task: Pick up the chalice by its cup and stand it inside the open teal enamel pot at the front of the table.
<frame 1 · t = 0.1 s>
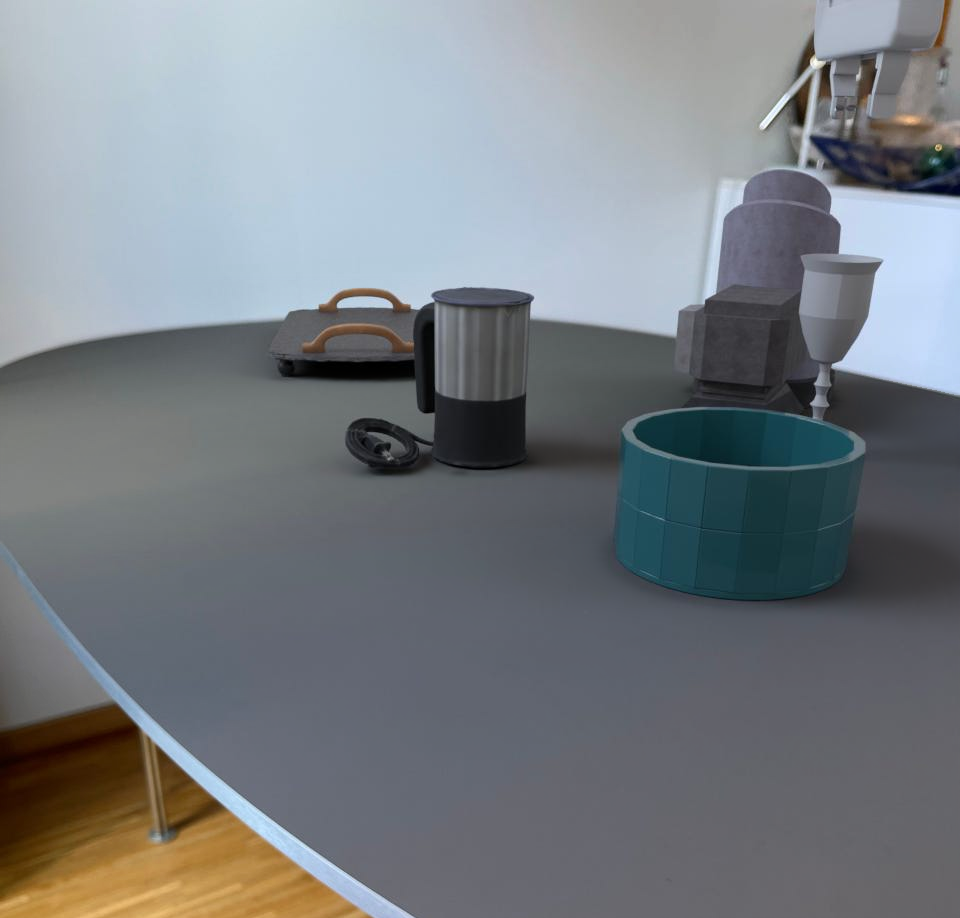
hand: (859, 119, 89), 29 cm above the table, tool pointing down, fingers open, 8 cm apart
serving tray: (363, 352, 147), on the table
pot: (727, 555, 79), on the table
chalice: (811, 456, 103), on the table
juicer: (751, 404, 122), on the table
milk frother: (439, 461, 100), on the table
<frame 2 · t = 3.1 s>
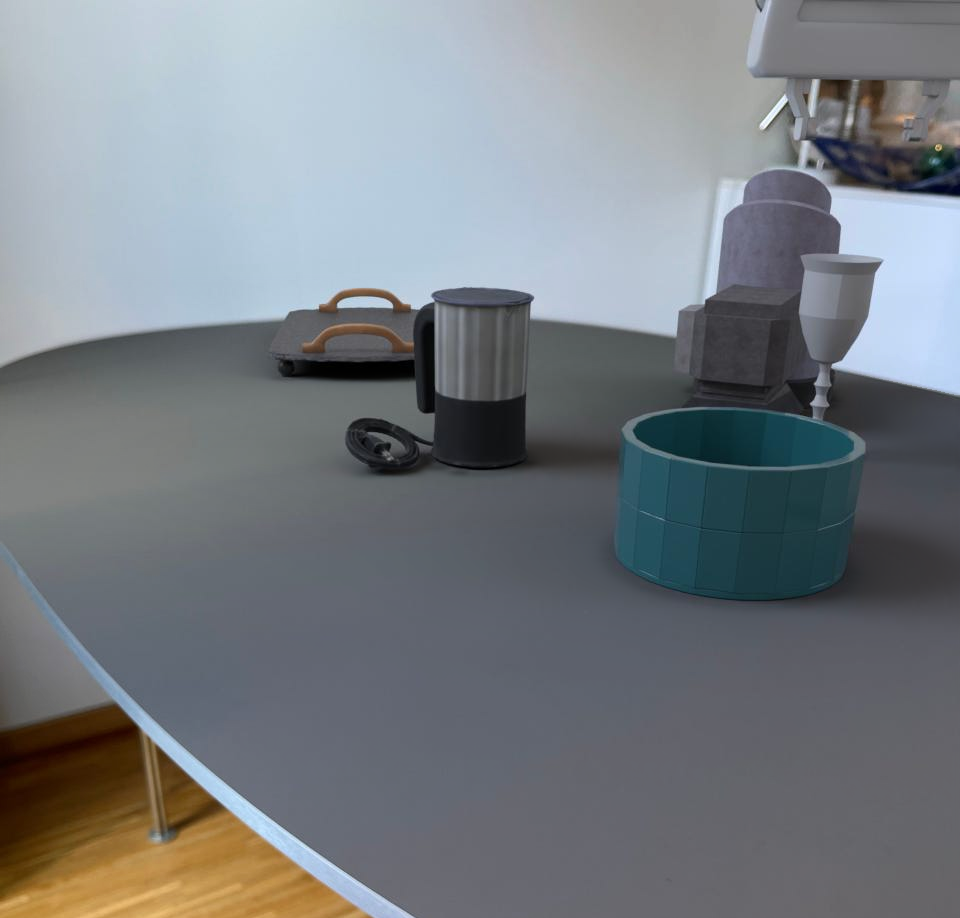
hand: (859, 141, 91), 27 cm above the table, tool pointing down, fingers open, 8 cm apart
nothing on the table moved.
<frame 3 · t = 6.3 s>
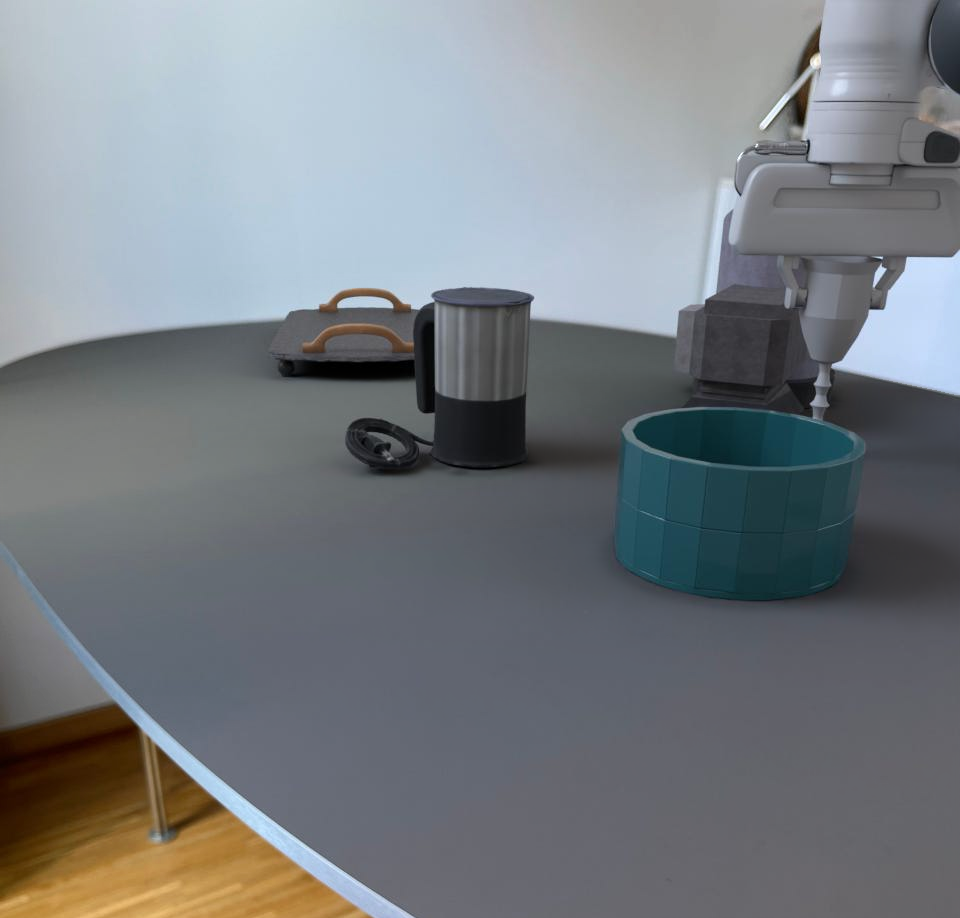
hand: (834, 308, 97), 14 cm above the table, tool pointing down, fingers closed on chalice, 6 cm apart
chalice: (811, 456, 103), on the table, touching gripper
everything else where it was.
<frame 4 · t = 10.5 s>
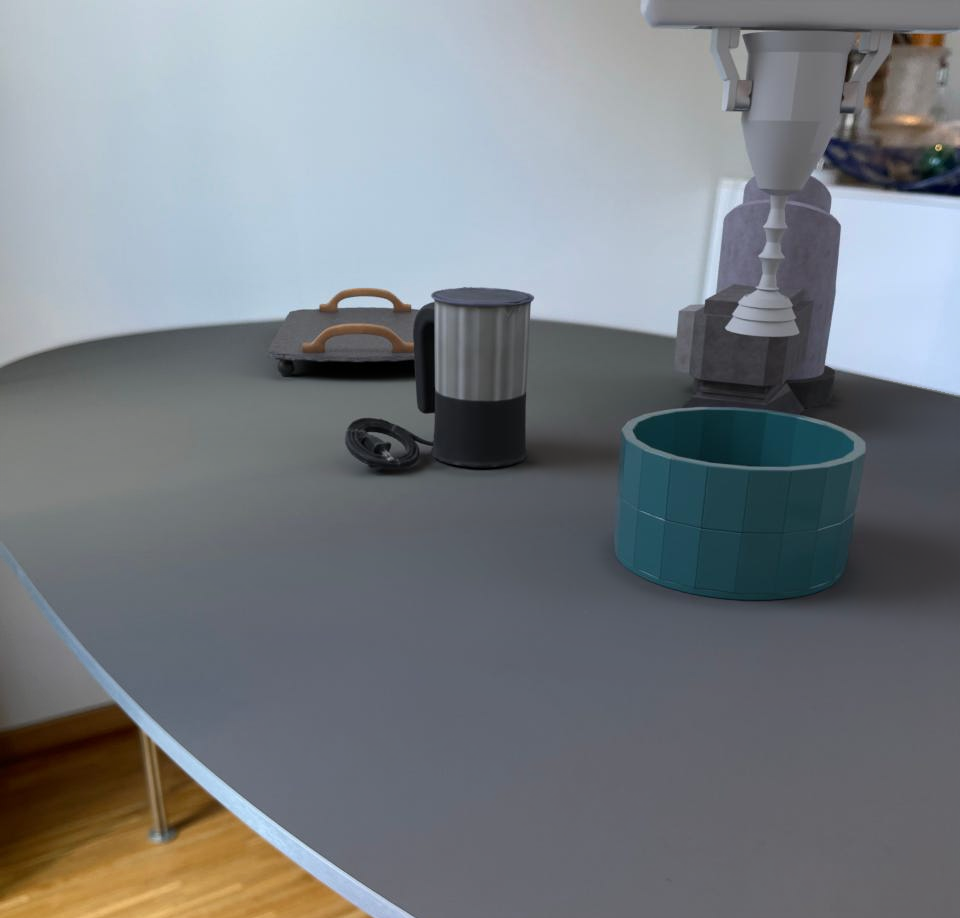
hand: (791, 112, 69), 29 cm above the table, tool pointing down, fingers closed on chalice, 6 cm apart
chalice: (761, 332, 75), point 16 cm above the table, touching gripper
everything else where it was.
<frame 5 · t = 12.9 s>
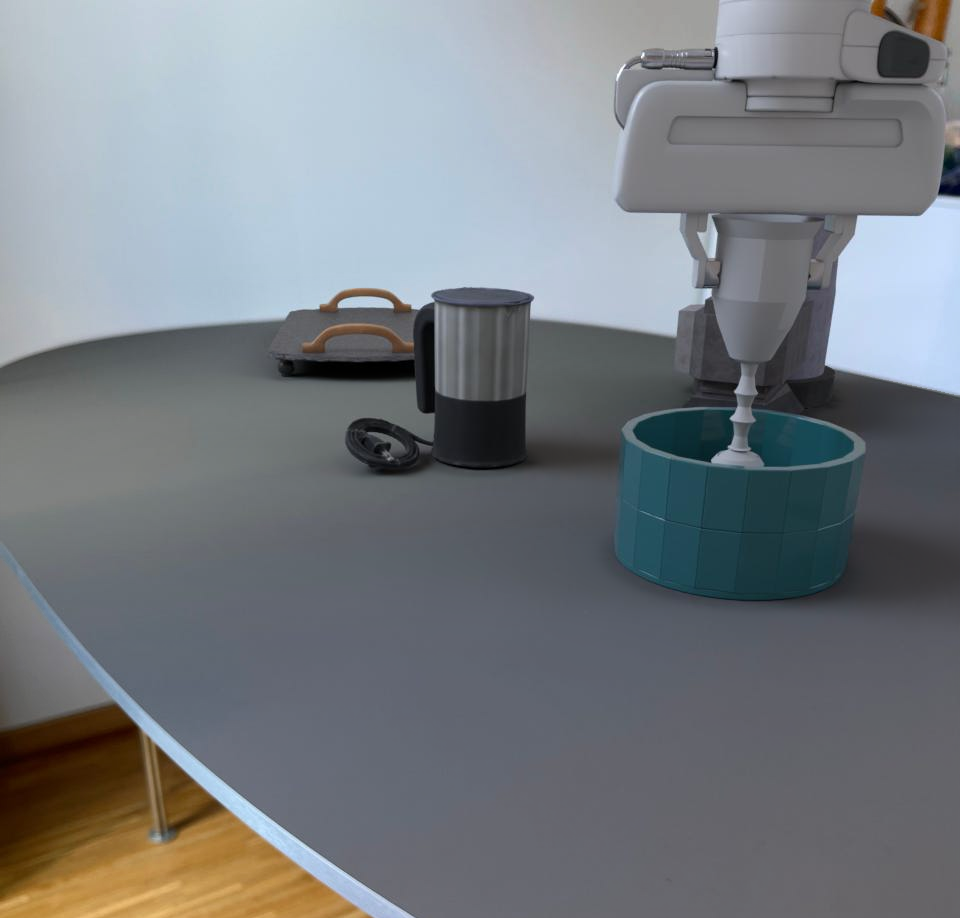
hand: (759, 288, 71), 19 cm above the table, tool pointing down, fingers closed on chalice, 6 cm apart
chalice: (734, 488, 77), point 5 cm above the table, touching gripper
everything else where it was.
when the fingers open (14 cm above the table, at t = 14.7 s): chalice stays where it is, resting on pot.
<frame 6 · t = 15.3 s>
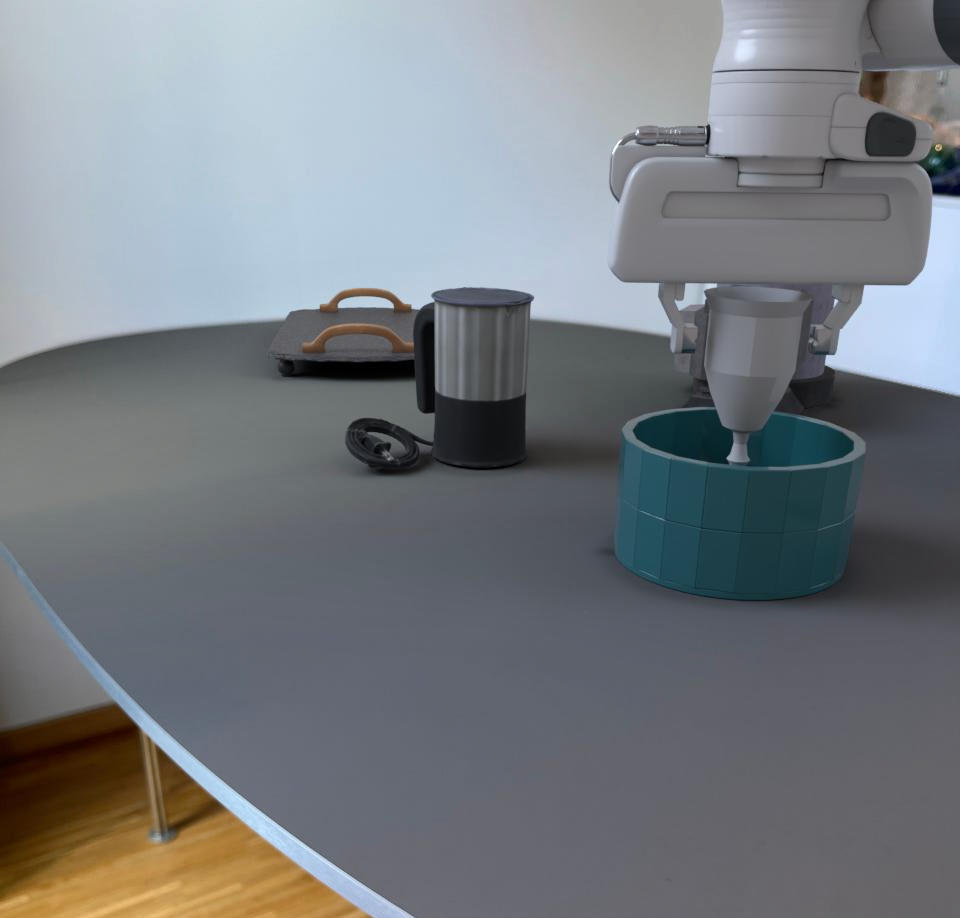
hand: (752, 353, 72), 15 cm above the table, tool pointing down, fingers open, 8 cm apart
chalice: (727, 550, 79), resting on pot
everything else where it was.
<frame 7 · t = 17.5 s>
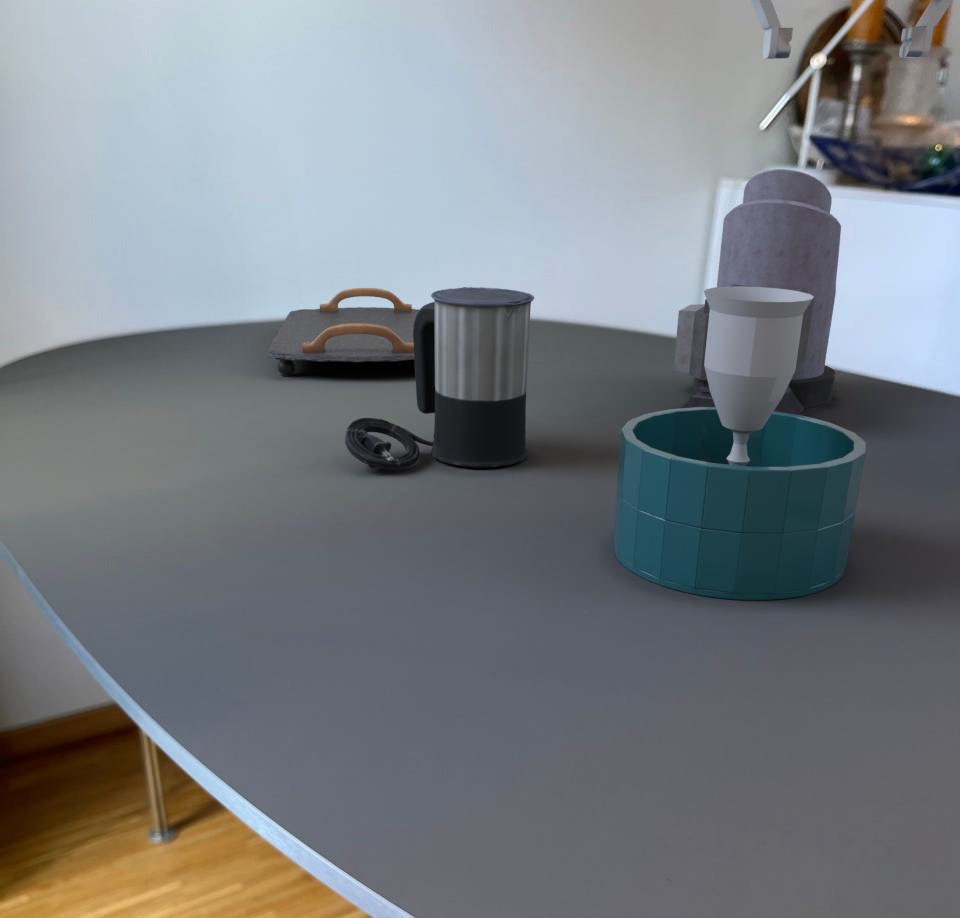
hand: (844, 58, 73), 33 cm above the table, tool pointing down, fingers open, 8 cm apart
nothing on the table moved.
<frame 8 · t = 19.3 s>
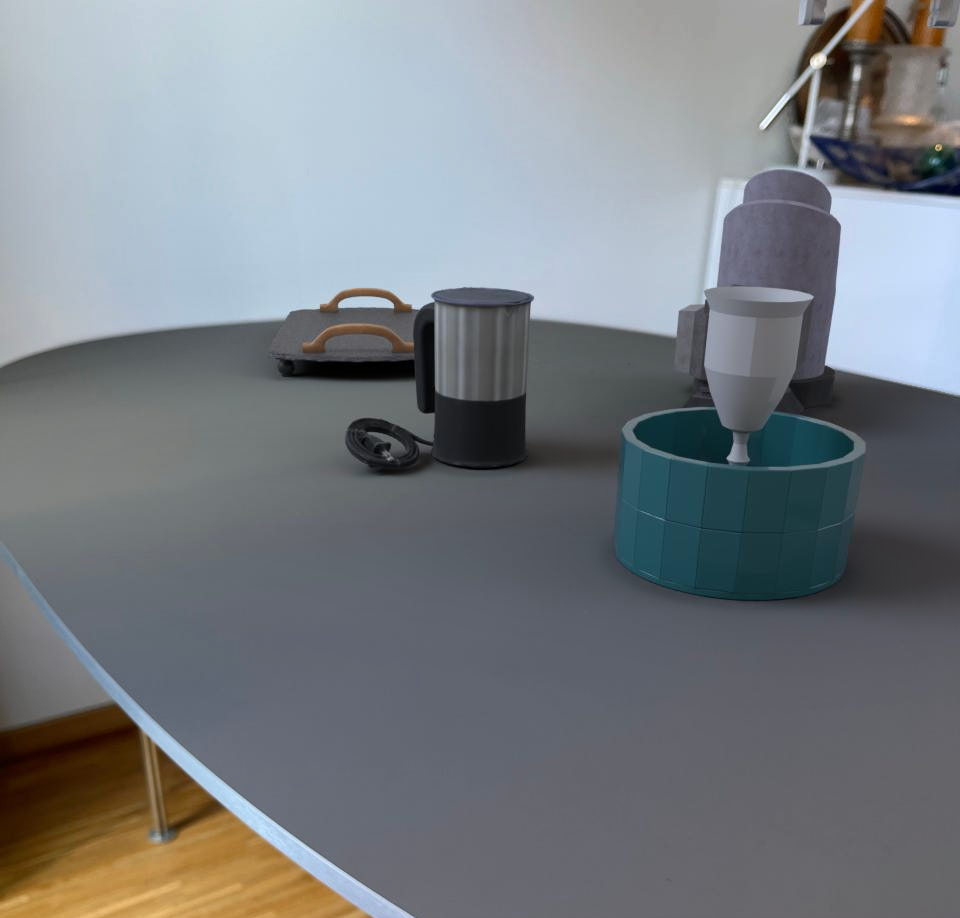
hand: (875, 26, 77), 35 cm above the table, tool pointing down, fingers open, 8 cm apart
nothing on the table moved.
at the end: chalice inside the target area in the pot (0.2 cm from its centre), point 0.3 cm above the pot's base; chalice tilted 0° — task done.
